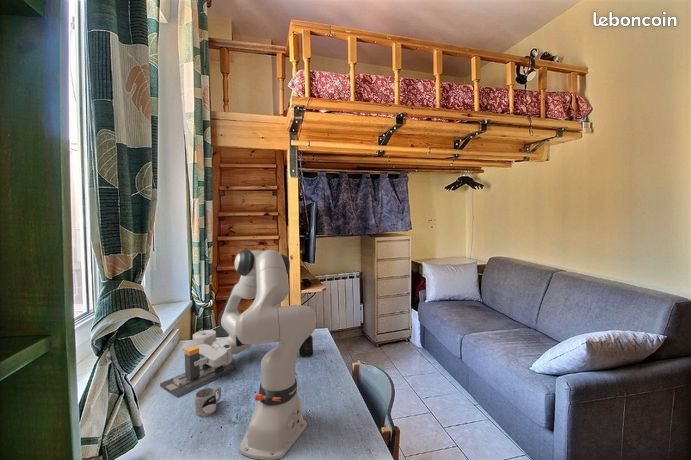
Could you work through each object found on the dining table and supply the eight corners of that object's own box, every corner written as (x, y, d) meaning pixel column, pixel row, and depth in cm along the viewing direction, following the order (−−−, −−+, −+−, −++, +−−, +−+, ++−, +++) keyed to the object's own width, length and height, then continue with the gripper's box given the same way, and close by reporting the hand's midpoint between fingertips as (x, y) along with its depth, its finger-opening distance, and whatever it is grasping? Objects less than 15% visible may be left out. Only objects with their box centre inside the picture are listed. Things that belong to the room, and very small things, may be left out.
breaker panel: (218, 361, 148) (218, 354, 148) (236, 369, 140) (236, 362, 139) (160, 386, 126) (159, 378, 126) (177, 397, 118) (177, 389, 118)
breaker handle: (194, 373, 133) (193, 345, 133) (200, 375, 131) (199, 347, 130) (185, 377, 130) (184, 349, 129) (190, 380, 127) (189, 351, 127)
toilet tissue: (207, 347, 164) (207, 328, 163) (222, 352, 158) (222, 332, 157) (188, 355, 155) (187, 335, 154) (203, 360, 148) (203, 340, 148)
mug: (204, 419, 106) (203, 400, 106) (191, 413, 109) (190, 395, 109) (227, 403, 115) (227, 385, 114) (214, 398, 118) (214, 381, 117)
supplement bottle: (314, 351, 157) (313, 328, 156) (311, 358, 150) (311, 333, 149) (300, 351, 157) (300, 327, 157) (297, 357, 151) (297, 333, 150)
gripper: (207, 338, 146) (177, 348, 135) (233, 348, 135) (203, 361, 123) (207, 351, 147) (177, 362, 135) (234, 362, 135) (203, 376, 124)
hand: (190, 362), depth 129 cm, fingers closed on breaker handle, 4 cm apart
